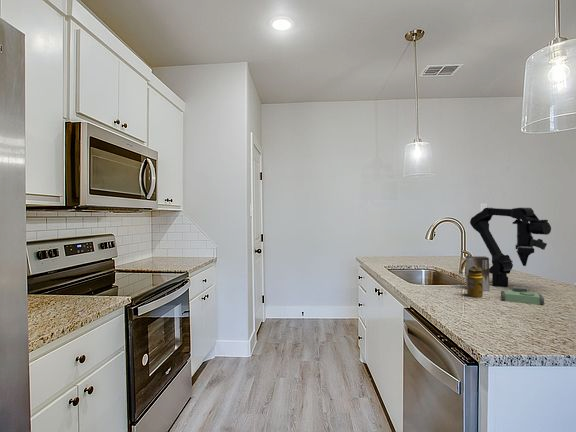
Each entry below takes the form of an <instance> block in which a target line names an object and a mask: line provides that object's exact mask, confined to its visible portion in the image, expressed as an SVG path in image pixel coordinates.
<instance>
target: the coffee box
mask: <svg viewBox="0 0 576 432" xmlns="http://www.w3.org/2000/svg"><path fill="white" fill-rule="evenodd" d="M489 268H490V258H489V257H488V256H479V255H476V256H474V255H473V256H472V255H465V283H466V284H465V287H466V288H467V276H468V270H469V269H477V270H481V271H482V272H481V274H482V275H481V276H482V277H483V292H486V291H487V292H488V291H489V292H490V285H491V284H490V273H489Z"/></svg>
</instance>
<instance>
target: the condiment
mask: <svg viewBox="0 0 576 432" xmlns="http://www.w3.org/2000/svg"><path fill="white" fill-rule="evenodd" d="M481 272H482V271H481V270H477V269H469V270H468V276H467V287H466V289H467V290H466V291H467V292H466V293H459V295H460V296H462V297H464V298H467V299H487V296H483V293H484V291H483V277H482V276H481V275H482V274H481Z"/></svg>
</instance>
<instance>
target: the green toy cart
mask: <svg viewBox="0 0 576 432" xmlns="http://www.w3.org/2000/svg"><path fill="white" fill-rule="evenodd" d="M500 298H501V301H505V302H512V303H522V304H531V305H544V306H545V298H544V297H543V295H542V294H540V293H535V292H532V291H527V292H514V291H512V289H507V290H500Z"/></svg>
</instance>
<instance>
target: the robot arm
mask: <svg viewBox="0 0 576 432" xmlns="http://www.w3.org/2000/svg"><path fill="white" fill-rule="evenodd" d="M493 216H500V217H511V218H512V219H515V220H514V221H512V225H516V244H515V246H514V248H515V250H516V253H517V256H518V258H519V261H520V262H521V264H522V266H523V267H526V266H527V263H528V259H529V257H530V255H531V254H535V248H534V247H536V248H538V249H541V250H544V251H545V249H546V247H547V245H548V243H547V242H544V241H543V238H542V239H541V238H538V239H534V236H532V235H544V236H545V235H547V236H548V235H549V234H551V231H552V227H551V224H550V223H549V221H548V219H539V218H538V216H537V215H536V213H535V212H534V210H533V208H532V207H513V208H496V207H485V208H483V209H482V210H481V211H480V212H478V213H477V214H475V215H474V216H472V217H471V218H470V221H469V224H470V225H471V227H472V228H473V229H474V231H476V232H478V233H479V235H480V236H481V239H482V240H483V243H484V245H485V246H486V248H487V250H488V252H489V253H490V255H491V263H492V265H491V266H489V274H492V275H491V276H492V278H491V280H492V281H491V286H492V287H493V286H494V287H502V288H503V287H504V288H508V286H509V275H508V274H510V273H511V271H512V269H513V267H514V265H513V260H512V259H511V257H510V255H509V254H504V253H503V252H502V250H501V249H500V247H499V244H498V243H497V241H496V240H495V237H494V236H493V234H492V232H491V231H490V223H489V222H490V221H491V220H492V218H493Z"/></svg>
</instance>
